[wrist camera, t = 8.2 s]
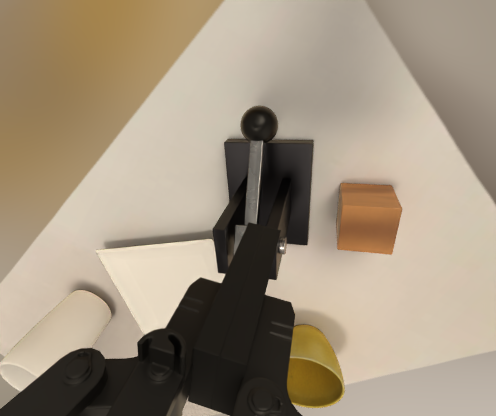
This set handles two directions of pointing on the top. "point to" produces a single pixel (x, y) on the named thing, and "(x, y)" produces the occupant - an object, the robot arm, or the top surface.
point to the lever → (255, 161)
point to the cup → (56, 337)
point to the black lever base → (267, 196)
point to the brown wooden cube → (367, 218)
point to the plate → (159, 276)
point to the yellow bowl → (313, 370)
